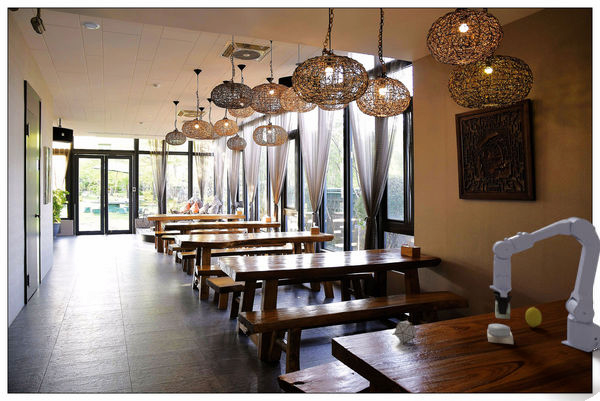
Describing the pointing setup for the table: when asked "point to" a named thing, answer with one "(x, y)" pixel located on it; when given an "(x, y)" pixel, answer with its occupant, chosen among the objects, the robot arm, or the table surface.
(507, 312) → the sage cube
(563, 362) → the table surface
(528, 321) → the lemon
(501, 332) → the grey puck
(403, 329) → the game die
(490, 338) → the birch slab
